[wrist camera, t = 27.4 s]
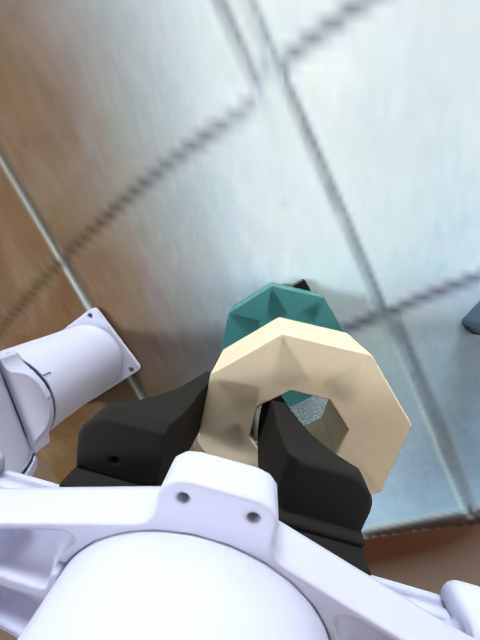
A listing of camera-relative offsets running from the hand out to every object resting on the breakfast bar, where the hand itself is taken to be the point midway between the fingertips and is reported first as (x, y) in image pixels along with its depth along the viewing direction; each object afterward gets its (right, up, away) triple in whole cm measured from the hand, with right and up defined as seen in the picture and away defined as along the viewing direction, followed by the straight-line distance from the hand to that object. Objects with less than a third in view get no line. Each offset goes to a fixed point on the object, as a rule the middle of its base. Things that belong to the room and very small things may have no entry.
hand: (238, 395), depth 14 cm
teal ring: (+4, +3, +9) cm, 10 cm away
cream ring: (+3, 0, +1) cm, 3 cm away
